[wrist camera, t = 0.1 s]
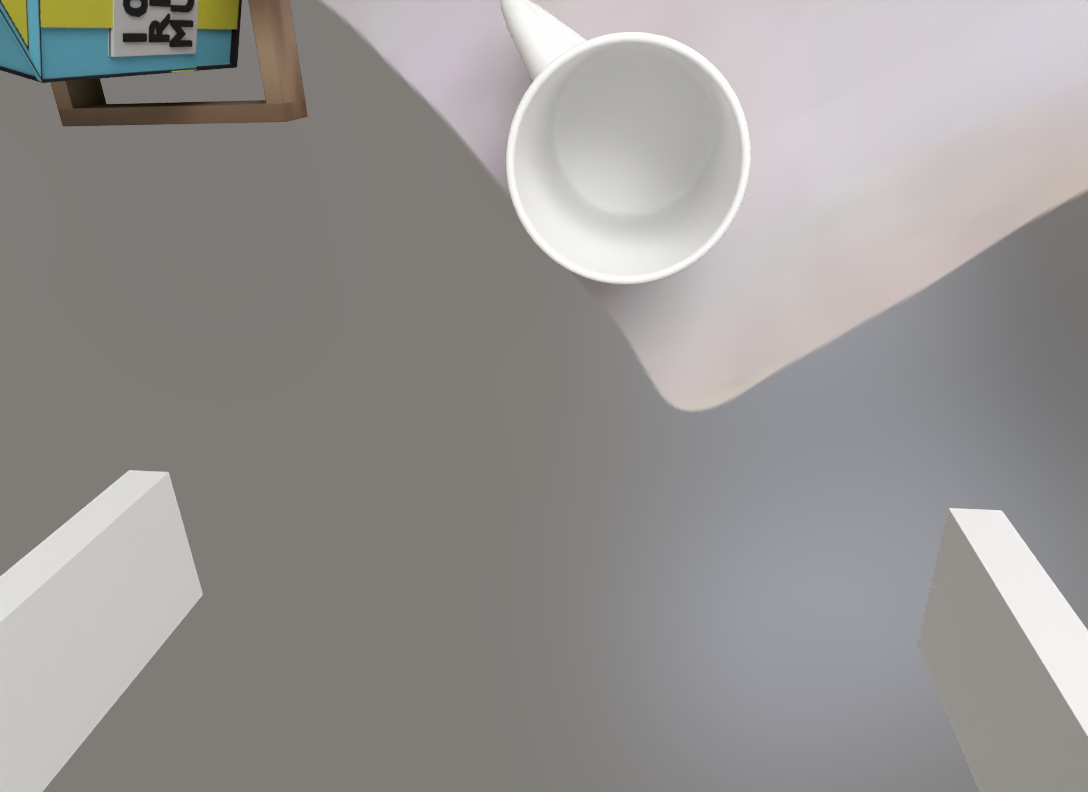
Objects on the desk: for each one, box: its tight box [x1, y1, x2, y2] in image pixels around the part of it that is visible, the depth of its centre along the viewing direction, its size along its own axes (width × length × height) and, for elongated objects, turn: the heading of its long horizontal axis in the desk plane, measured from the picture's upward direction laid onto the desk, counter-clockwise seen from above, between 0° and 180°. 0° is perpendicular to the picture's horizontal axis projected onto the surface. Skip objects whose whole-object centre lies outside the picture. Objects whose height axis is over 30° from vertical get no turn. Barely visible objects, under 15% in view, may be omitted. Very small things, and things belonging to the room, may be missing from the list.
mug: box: [500, 0, 751, 284], centre depth 31 cm, size 9×12×11 cm
